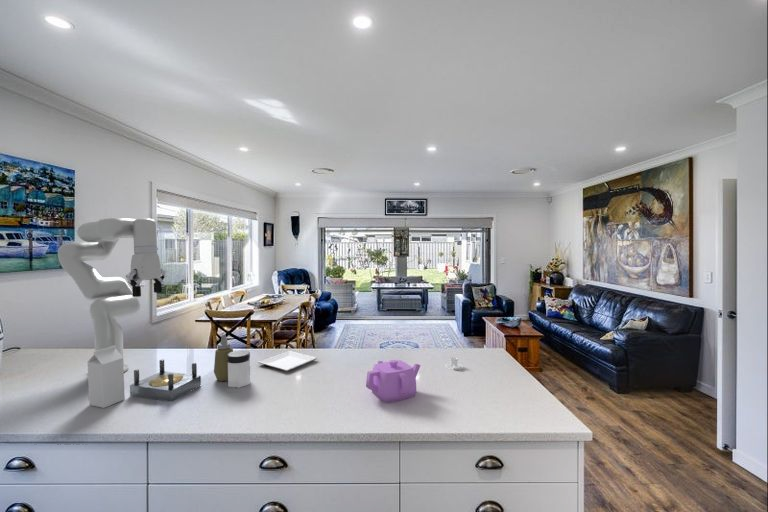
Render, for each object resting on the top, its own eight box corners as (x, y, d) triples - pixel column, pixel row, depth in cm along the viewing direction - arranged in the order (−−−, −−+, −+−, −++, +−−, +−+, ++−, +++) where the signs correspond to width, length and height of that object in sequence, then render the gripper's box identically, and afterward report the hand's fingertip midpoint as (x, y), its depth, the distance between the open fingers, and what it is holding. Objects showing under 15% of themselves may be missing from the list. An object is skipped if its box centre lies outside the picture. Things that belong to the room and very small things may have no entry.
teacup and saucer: (461, 372, 157) (462, 363, 157) (443, 370, 160) (443, 360, 159) (464, 365, 165) (464, 356, 165) (446, 363, 168) (446, 354, 168)
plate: (317, 361, 169) (317, 357, 169) (287, 374, 153) (287, 370, 153) (289, 354, 179) (289, 350, 179) (257, 366, 163) (257, 361, 163)
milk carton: (124, 399, 129) (122, 346, 128) (103, 408, 122) (101, 352, 121) (110, 396, 131) (108, 344, 130) (89, 405, 125) (86, 350, 124)
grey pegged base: (130, 395, 132) (129, 371, 131) (162, 380, 146) (161, 358, 145) (171, 401, 128) (170, 376, 127) (200, 385, 141) (200, 362, 141)
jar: (250, 386, 141) (250, 355, 140) (227, 389, 138) (227, 358, 137) (250, 377, 149) (249, 348, 148) (228, 380, 146) (227, 351, 145)
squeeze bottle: (227, 383, 143) (226, 337, 142) (209, 381, 145) (208, 336, 144) (239, 375, 151) (238, 332, 150) (222, 374, 153) (221, 331, 152)
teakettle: (363, 400, 129) (363, 366, 128) (378, 382, 145) (378, 351, 145) (411, 407, 124) (411, 371, 124) (420, 387, 141) (421, 355, 140)
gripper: (155, 249, 152) (157, 291, 152) (117, 251, 135) (119, 297, 136) (171, 249, 150) (173, 291, 151) (134, 251, 133) (136, 298, 134)
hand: (147, 294), depth 143 cm, fingers open, 9 cm apart
